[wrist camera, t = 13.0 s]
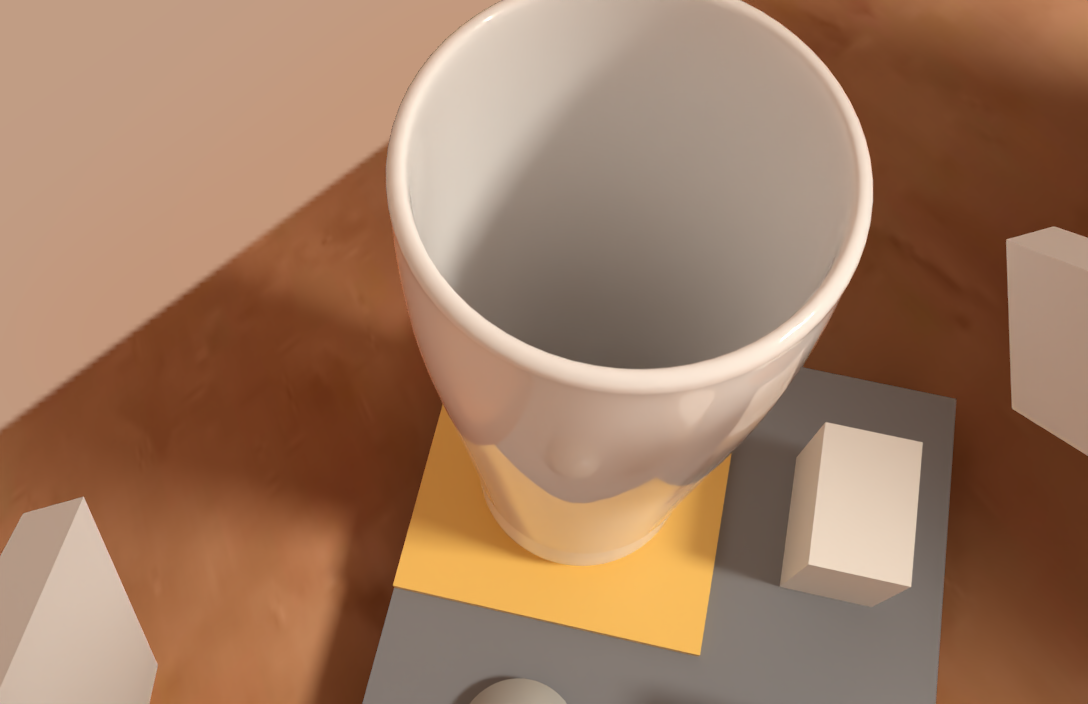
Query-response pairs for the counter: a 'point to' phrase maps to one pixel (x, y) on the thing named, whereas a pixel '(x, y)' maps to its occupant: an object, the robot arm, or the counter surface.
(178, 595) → the counter surface
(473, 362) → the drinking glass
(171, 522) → the counter surface
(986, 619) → the counter surface
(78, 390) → the counter surface
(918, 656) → the game board
